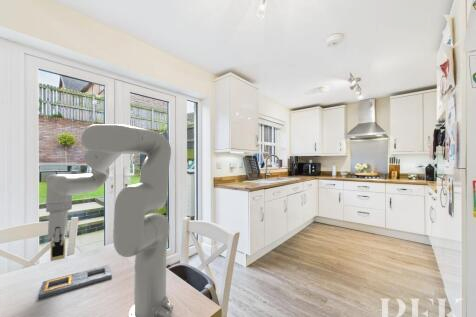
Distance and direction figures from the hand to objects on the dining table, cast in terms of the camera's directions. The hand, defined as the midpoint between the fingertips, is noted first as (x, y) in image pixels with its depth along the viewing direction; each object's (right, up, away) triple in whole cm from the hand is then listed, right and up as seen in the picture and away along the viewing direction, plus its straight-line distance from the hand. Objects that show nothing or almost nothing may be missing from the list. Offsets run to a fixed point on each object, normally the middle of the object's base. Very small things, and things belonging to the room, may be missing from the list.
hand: (58, 253), depth 79 cm
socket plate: (+5, -13, +3) cm, 14 cm away
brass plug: (0, -2, 0) cm, 2 cm away
